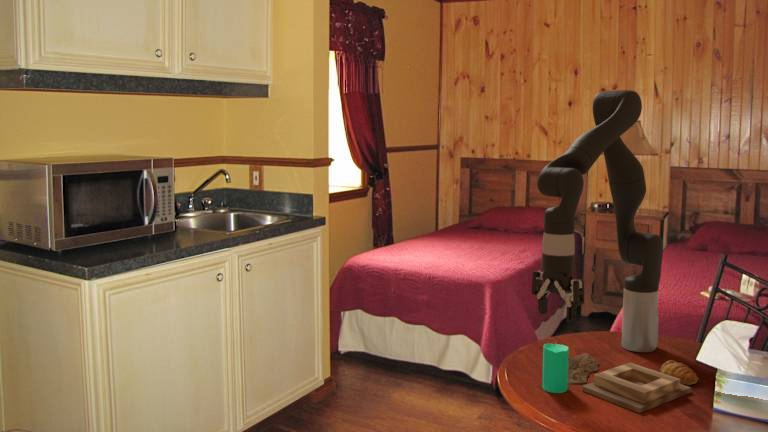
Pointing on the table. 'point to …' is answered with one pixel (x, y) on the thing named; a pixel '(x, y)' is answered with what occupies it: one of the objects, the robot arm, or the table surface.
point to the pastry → (679, 372)
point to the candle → (555, 368)
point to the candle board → (630, 401)
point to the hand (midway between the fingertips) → (556, 317)
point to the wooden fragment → (581, 368)
